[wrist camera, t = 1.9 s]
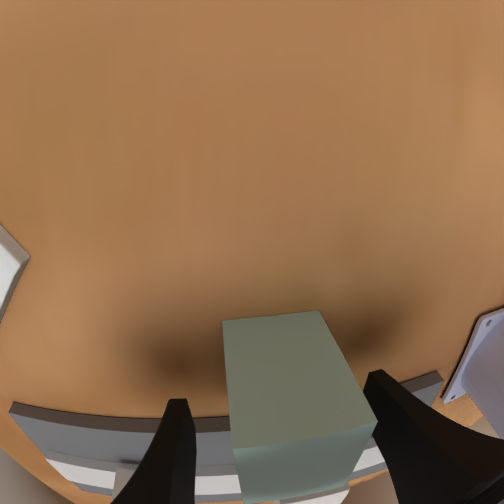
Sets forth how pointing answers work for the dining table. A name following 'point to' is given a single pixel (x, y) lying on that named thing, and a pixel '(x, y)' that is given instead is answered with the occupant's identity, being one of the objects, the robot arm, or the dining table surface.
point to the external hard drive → (10, 267)
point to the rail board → (141, 435)
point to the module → (292, 407)
